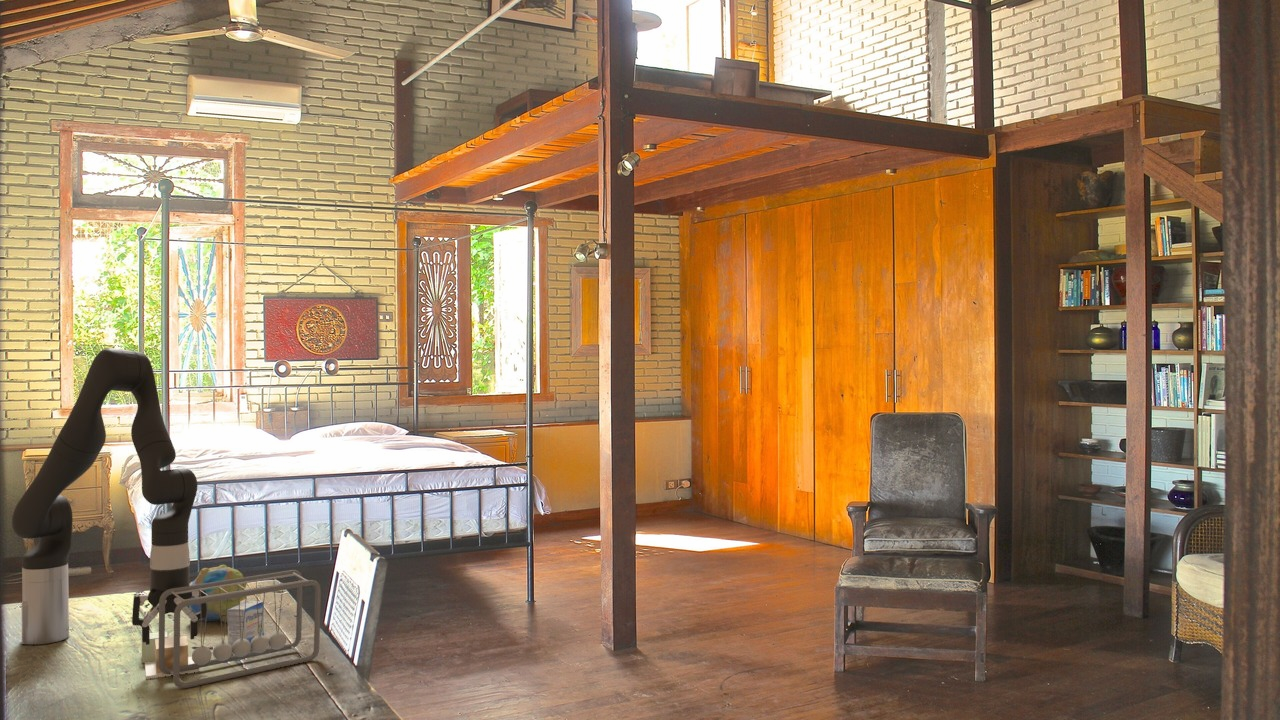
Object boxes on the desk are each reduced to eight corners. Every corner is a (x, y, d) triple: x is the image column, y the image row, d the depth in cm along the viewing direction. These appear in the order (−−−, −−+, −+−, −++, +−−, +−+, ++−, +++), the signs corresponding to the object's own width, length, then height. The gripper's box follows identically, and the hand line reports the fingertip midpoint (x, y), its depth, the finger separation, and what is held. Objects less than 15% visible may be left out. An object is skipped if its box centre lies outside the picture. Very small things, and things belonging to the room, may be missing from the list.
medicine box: (244, 648, 228) (244, 609, 228) (227, 647, 229) (226, 608, 229) (264, 638, 236) (264, 601, 236) (247, 637, 237) (247, 600, 237)
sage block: (142, 663, 218) (141, 639, 218) (141, 656, 222) (141, 634, 222) (167, 659, 220) (167, 636, 220) (167, 653, 224) (166, 631, 224)
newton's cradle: (174, 691, 199) (175, 603, 198) (157, 675, 207) (158, 589, 206) (320, 659, 219) (321, 579, 218) (299, 646, 227) (301, 567, 226)
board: (145, 679, 207) (145, 676, 207) (144, 665, 216) (144, 662, 216) (199, 671, 211) (199, 669, 211) (196, 658, 220) (196, 656, 220)
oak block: (156, 673, 209) (156, 649, 209) (155, 662, 216) (155, 639, 216) (188, 669, 211) (188, 645, 211) (186, 658, 219) (185, 635, 218)
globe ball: (185, 557, 251) (222, 566, 243) (238, 565, 264) (275, 574, 256) (168, 614, 248) (206, 625, 240) (223, 619, 261) (260, 630, 253)
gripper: (205, 558, 220) (205, 632, 220) (132, 564, 213) (132, 640, 214) (208, 565, 213) (207, 641, 213) (132, 571, 207) (132, 650, 207)
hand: (169, 641), depth 213 cm, fingers open, 8 cm apart
